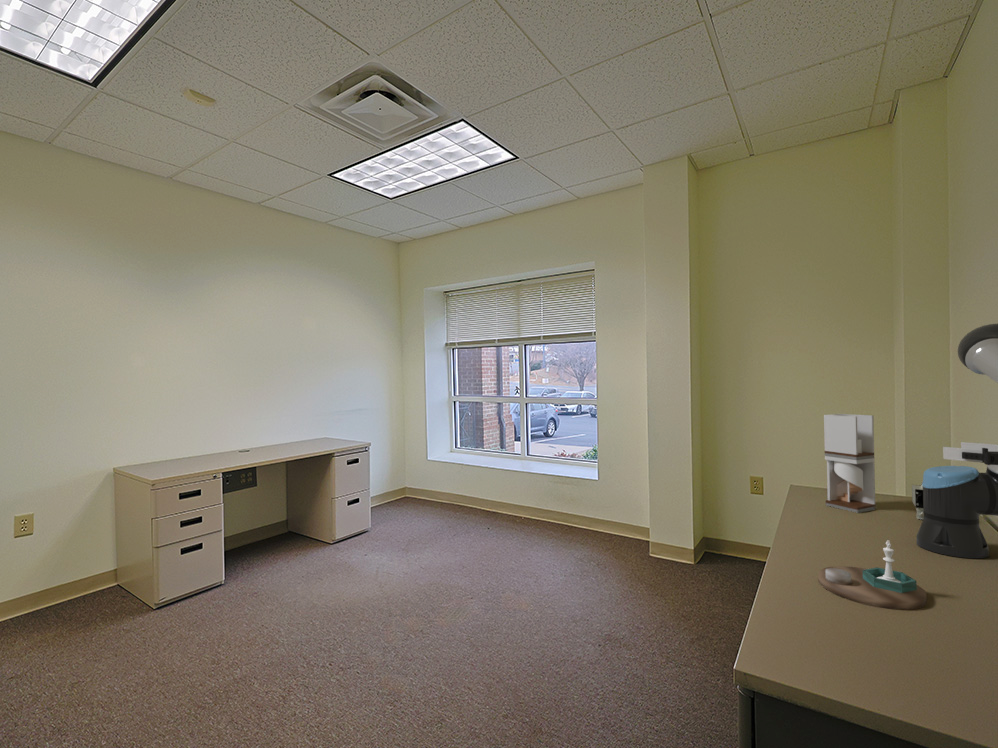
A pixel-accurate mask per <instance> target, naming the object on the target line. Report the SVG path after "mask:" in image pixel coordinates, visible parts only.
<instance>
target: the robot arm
mask: <svg viewBox="0 0 998 748" xmlns="http://www.w3.org/2000/svg"><path fill="white" fill-rule="evenodd" d="M957 356H958V358H959V361H960V362H961V363H962V365H964V367H966V368H967V369H968V370H970V371H971V372H972V373H975V374H977V375H983V376H984V375H985V376H987V377H989V378H990V379H991V380H992V381H994V382H995V383H997V384H998V323H990V324H986V325H985V324H984V325H981V326H979V327H976V328H974V329H973V330H971V331H969V332H967V334H965V335H964V336H963V337H962V339H961V340H960V342H959V344H958V346H957ZM942 451H943V452H942V456H943V457H942V459H943V460H949V461H950V460H951V461H962V462H970V463H980V464H981V463H984V465H985V466H986V471H985V472H979V470H978V469H977V468H976V467H972V466H968V465H967V466H965V465H960V466H958V465H941V466H933V467H929V468H927V469H925V470H924V471H923V477H922V483H921V484H922V486H923V505H924V513H923V515H924V519H923V520H922V522H921V524H920V527H919V529H918V531H917V534H916V538H915V539H916V545H917V546H918V547H920V548H922V549H923V550H927V551H929V552H933V553H937V554H941V555H945V556H949V557H950V556H951V557H955V558H965V559H986V558H989V556H990V548H989V545H988V543H987V541H986V537H985V536H984V533H983V532H982V529H981V527H980V515H983V516H995V517H996V516H998V444H993V443H979V442H966V441H964V442H963V441H961V442H960V447H950V446H943V447H942Z"/></svg>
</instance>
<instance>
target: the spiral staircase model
mask: <svg viewBox="0 0 998 748" xmlns="http://www.w3.org/2000/svg"><path fill="white" fill-rule="evenodd" d="M874 421H875V420H874V415H868V414H855V413H852V414H851V413H848V414H847V413H831V414H824V415H823V425H824V426H823V429H824V430H823V432H824V433H823V436H824V460H825V461H826V483H827V485H826V487H827V499H826V500H825V506H826V505H827V506H826V507H829V506H831V507H830V508H833V507H835V508H834V509H838V508H839V509H838V510H842V509H843V510H842V511H846V510H848V511H847V512H851V511H852V512H851V513H855V512H856V513H857V514H859V513H866V512H870V511H875V510H876V478H875V475H876V473H875V472H876V470H875V466H876V465H875V430H874V429H875V428H874V427H875V425H874ZM856 513H855V514H856Z"/></svg>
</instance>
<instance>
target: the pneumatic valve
mask: <svg viewBox="0 0 998 748" xmlns="http://www.w3.org/2000/svg"><path fill="white" fill-rule="evenodd" d="M911 502H912V503H913V505H914V507H915V510H916V515H915V517H916V519H917V520H918V519H920V520H922V521H923V519H924V505H923V486H922V483H921V484H919V485H918V484H911ZM920 520H919V521H920Z"/></svg>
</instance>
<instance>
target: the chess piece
mask: <svg viewBox="0 0 998 748" xmlns="http://www.w3.org/2000/svg"><path fill="white" fill-rule="evenodd" d="M885 545H886V547H883V548H882V550H883V553H884V555H885V557H882V560H883V561H885V566H884V567H885V568H884V569H885V574H884V575H883V576H882V577H877V578H879V579H884V580H889V581H894V582H899V583H901V581H899V580H897V579H895V577H894V575H893V571H894V570H893V567H892V566H893V564H892V563H895V558H892V557H893V554H894V553H895V550H894V549H893V548H891V547H892V545H891V540H888V539H887V540H886V542H885Z"/></svg>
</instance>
